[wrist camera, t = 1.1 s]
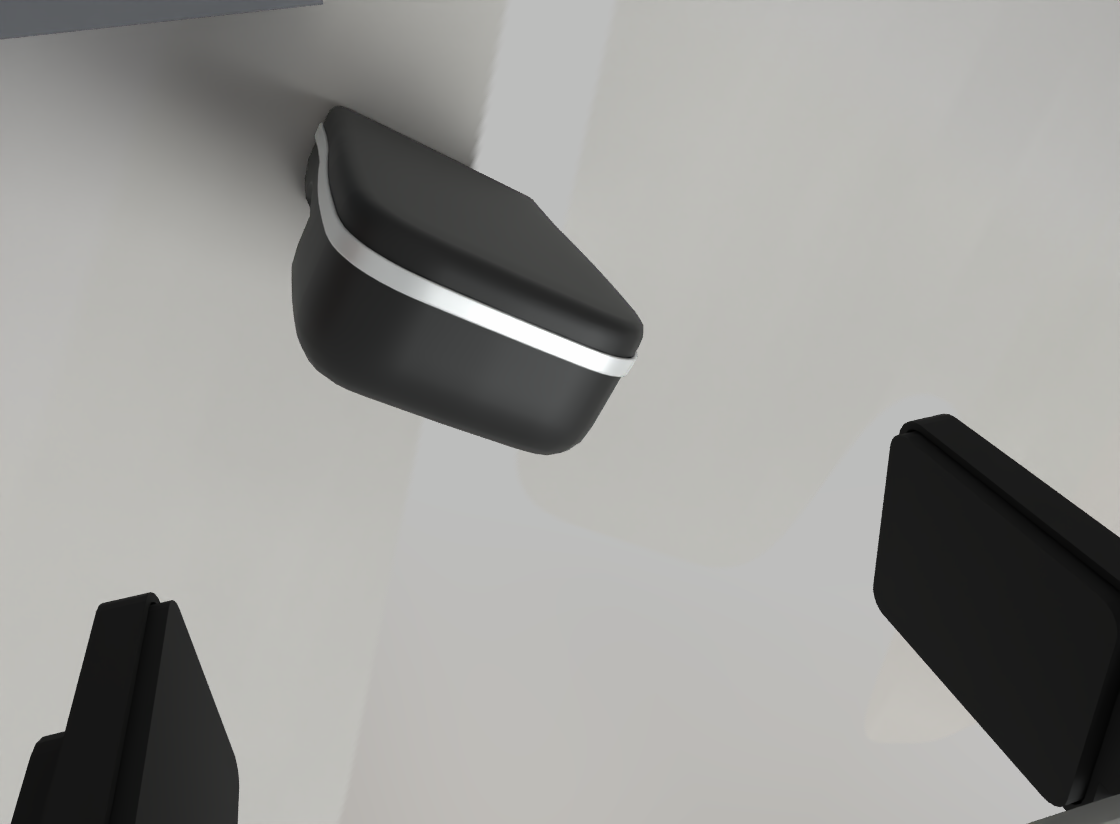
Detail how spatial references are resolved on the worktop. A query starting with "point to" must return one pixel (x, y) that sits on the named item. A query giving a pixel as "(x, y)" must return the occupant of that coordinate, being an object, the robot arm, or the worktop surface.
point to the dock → (118, 13)
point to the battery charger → (451, 293)
